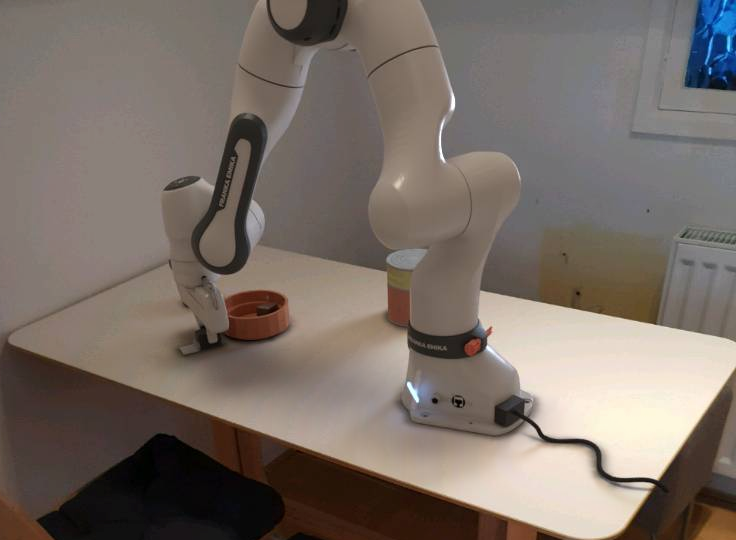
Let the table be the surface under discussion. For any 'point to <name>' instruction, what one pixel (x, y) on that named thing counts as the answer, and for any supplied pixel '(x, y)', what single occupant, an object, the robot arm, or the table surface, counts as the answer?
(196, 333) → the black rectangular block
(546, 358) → the table surface
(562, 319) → the table surface
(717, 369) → the table surface
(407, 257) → the canned food
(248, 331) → the bowl
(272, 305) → the block
